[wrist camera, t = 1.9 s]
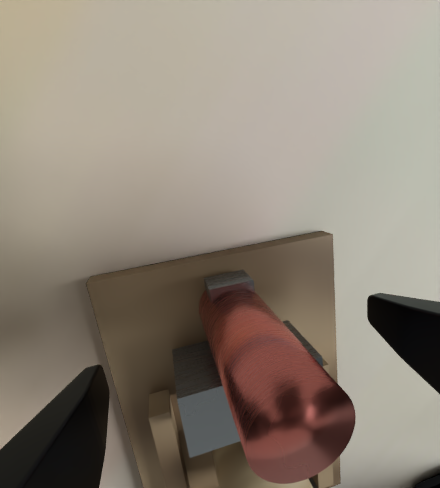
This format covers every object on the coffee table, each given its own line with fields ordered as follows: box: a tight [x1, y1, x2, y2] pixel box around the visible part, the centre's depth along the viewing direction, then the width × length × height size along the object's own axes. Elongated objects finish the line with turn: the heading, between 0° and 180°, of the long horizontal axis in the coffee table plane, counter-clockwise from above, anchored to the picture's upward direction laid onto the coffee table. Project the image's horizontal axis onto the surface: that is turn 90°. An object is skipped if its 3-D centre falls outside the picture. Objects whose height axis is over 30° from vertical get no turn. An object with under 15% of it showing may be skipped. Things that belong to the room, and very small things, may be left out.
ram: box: [172, 270, 355, 484], centre depth 9 cm, size 5×5×6 cm
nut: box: [212, 441, 313, 488], centre depth 12 cm, size 3×3×3 cm
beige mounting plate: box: [86, 231, 340, 488], centre depth 11 cm, size 14×10×5 cm
